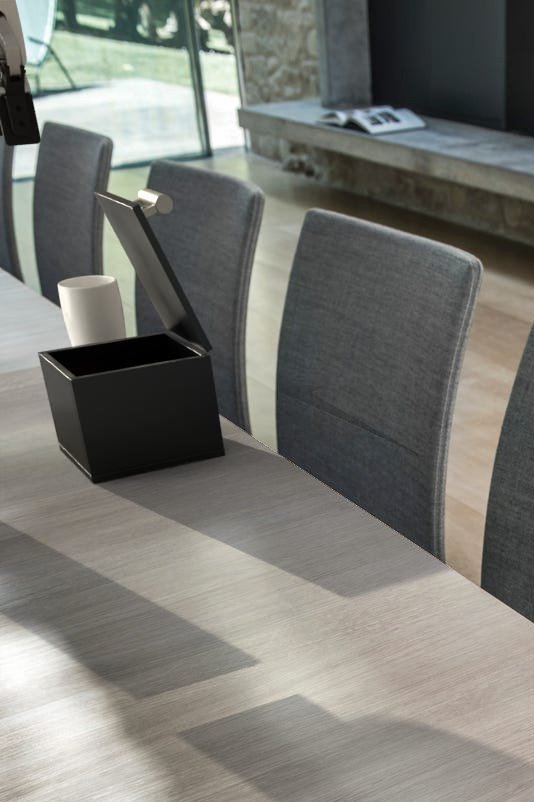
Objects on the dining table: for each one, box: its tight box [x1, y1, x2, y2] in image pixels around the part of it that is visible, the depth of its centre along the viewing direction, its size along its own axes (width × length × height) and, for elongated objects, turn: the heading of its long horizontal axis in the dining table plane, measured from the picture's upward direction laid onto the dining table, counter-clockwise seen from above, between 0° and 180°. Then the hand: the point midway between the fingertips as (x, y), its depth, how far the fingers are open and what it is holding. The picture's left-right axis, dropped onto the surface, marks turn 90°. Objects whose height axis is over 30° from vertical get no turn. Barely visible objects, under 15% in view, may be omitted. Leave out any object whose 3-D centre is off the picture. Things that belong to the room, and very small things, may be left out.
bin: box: [37, 330, 226, 484], centre depth 124 cm, size 15×13×11 cm
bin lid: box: [93, 187, 214, 353], centre depth 120 cm, size 15×13×5 cm
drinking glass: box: [57, 274, 127, 347], centre depth 136 cm, size 7×7×15 cm
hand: (10, 139), depth 110 cm, fingers open, 9 cm apart
